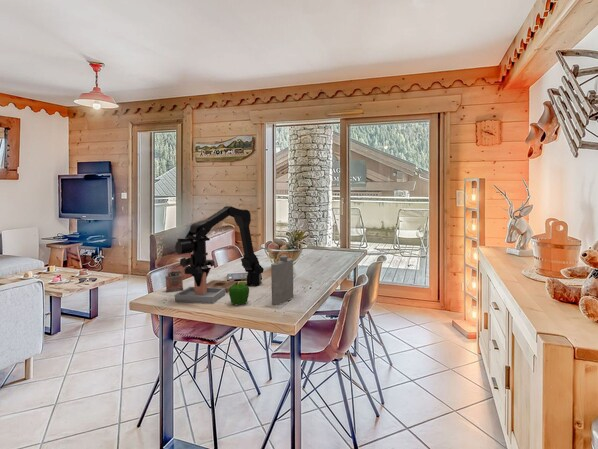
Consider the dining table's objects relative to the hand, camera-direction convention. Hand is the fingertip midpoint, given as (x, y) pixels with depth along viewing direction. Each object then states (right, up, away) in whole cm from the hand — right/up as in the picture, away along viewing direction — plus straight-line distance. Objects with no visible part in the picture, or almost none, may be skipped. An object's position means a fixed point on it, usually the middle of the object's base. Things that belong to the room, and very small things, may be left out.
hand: (200, 285), depth 164 cm
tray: (0, -6, 0) cm, 6 cm away
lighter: (-16, -5, +12) cm, 21 cm away
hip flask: (+38, -6, -3) cm, 39 cm away
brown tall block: (0, -4, 0) cm, 4 cm away
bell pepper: (+19, -7, -8) cm, 22 cm away
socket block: (+5, -4, +17) cm, 18 cm away
